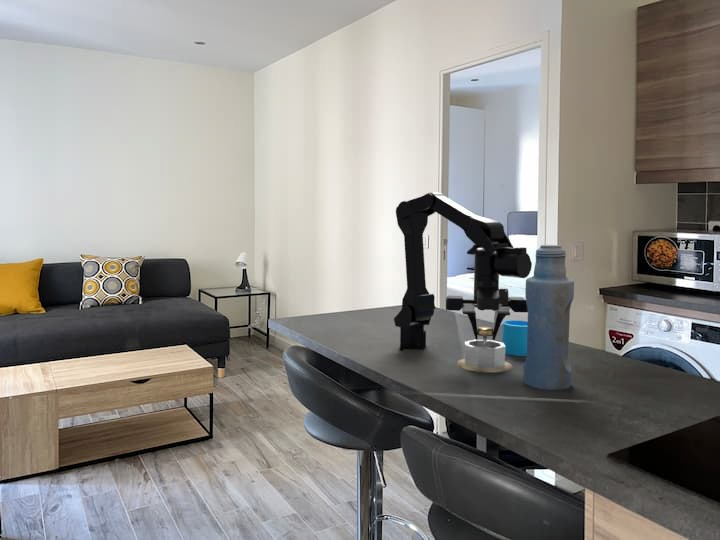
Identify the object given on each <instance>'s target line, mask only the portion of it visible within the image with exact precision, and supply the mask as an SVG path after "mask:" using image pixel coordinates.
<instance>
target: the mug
mask: <svg viewBox="0 0 720 540" xmlns="http://www.w3.org/2000/svg"><path fill="white" fill-rule="evenodd" d="M501 324H502V327H501V328H502V331H501V335H502V336H501V342H502V343H504V345H505V355H510V356H516V357H527V325H528V320H517V319H515V320H503V321H502V323H501Z"/></svg>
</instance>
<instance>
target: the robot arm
mask: <svg viewBox="0 0 720 540" xmlns="http://www.w3.org/2000/svg"><path fill="white" fill-rule="evenodd" d="M435 213H437V214H438V215H440V216H442V217H443V218H445V220H446V219H447V220H448V221H449V222H451V223H452V224H454V225H456V226H457V227H459V228H460V229H461V230H463V232H464V234H465V236H466V237H467V238H468V240H470V241H471V242H472V243H473V245H472V247H471V248H469V249H468V250H467V252H466V254H467V255H470V256H471V255H472V256H473V255H474V269H473V270H474V271H473V272H474V273H473V299H465V298H464V297H463V295H447V296H446V297H445V310H446V311H457V312H458V311H462V314H463V315H466V316H467V317H468V319H469V322H470V324H471V328H472V332H473V335H474V338H475V339H474V340H478V338H479V335H478V333H477V328H478V326H477V316H476V315H477V314H476V310H475V308H477V309H478V310H479V311H494V317H493V325H492V328H493V336H491V337H492V339H491V340H493V341H496V340H495V339H496V337H497V335H498V332H499V329H500V327H501V324H502V323H503V322H504V319H505V318H506V316H510V315H511V312H510V310H511V311H512V312H513V313H528V308H527V302H526V298H525V297H523V296H522V297H521V296H509V288H500V287H499V286H500V276H501V277H509V278H519V279H527V278H528V277H529V275H530V273H531V271H532V265H533V264H532V263H533V262H532V260H531V257H530V255H529V254H528V253H527V247H522V246H521V247H514V246H513V244H512V243H511V241H510V239H509V237H508V236H507V234H506V232H505V226H504V225H503V224H502V222H500V221H497V220H494V219H492V218H488V217H484V216H481V215H477V214H475V213H473V212H471V211H470V210H468V209H467V208H465V207H463V206H462V205H460V204H458V203H456V202H454V201H453V200H451V199H450V198H448V197H446V196H445V194H443V193H441V192H428V193H426V194H424V195H422V196H418V197H416V198H413V199H409V200H403V201H401V202H400V203H399V204H398V205H397V206H396V208H395V216H396V221H397V222H396V223H397V226H398V228H399V230H400V231H401V233H402V234H403V238H404V255H405V256H404V257H405V258H404V259H405V270H406V271H405V273H406V290H405V293H404V295H403V297H402V303H401V309H400V311H399V312H398V313H397V315H396V316H394V317H393V322H394V325H395V327H398V328H400V331H399V333H400V336H399V350H401V351H404V350H418V351H420V350H421V351H424V350H425V348H426V346H427V330H425V326H430V322H431V319H432V317H433V316H434V314H435V310H436V305H435V298H436V297H435V293H430V292H429V290H428V289H427V285H426V284H427V283H426V269H425V252H424V236H423V235H424V232H425V230H426V228H427V226H428V223H429V222H428V220H429V216H432V215H434V214H435Z"/></svg>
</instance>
